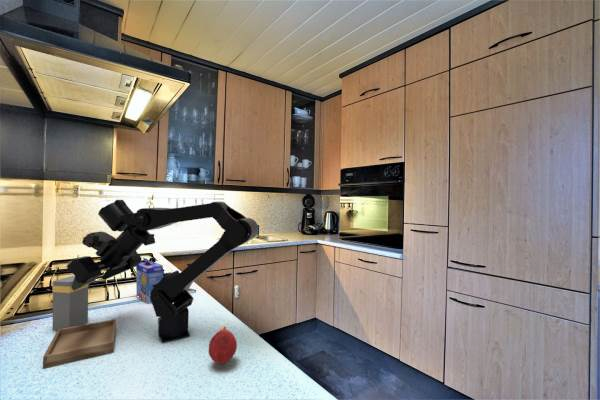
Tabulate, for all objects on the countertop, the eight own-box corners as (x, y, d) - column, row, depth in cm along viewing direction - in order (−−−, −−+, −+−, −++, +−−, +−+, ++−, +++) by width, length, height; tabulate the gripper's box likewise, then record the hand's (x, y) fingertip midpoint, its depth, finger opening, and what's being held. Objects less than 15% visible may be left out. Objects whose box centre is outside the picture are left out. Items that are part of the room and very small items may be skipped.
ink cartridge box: (134, 297, 98) (135, 256, 98) (151, 293, 102) (151, 254, 102) (146, 304, 92) (147, 260, 92) (163, 300, 96) (164, 258, 96)
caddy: (88, 322, 78) (88, 276, 78) (69, 332, 73) (69, 282, 72) (72, 321, 79) (72, 275, 79) (52, 330, 73) (52, 281, 73)
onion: (237, 370, 57) (237, 331, 57) (207, 374, 56) (208, 334, 56) (235, 354, 63) (236, 319, 63) (208, 358, 61) (209, 322, 61)
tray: (116, 327, 75) (116, 318, 75) (113, 352, 63) (113, 341, 63) (57, 339, 69) (58, 329, 69) (42, 368, 57) (43, 357, 57)
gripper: (133, 219, 83) (99, 254, 85) (75, 225, 65) (33, 270, 66) (156, 246, 82) (122, 281, 84) (104, 260, 64) (62, 305, 65)
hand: (88, 283), depth 75 cm, fingers open, 9 cm apart
